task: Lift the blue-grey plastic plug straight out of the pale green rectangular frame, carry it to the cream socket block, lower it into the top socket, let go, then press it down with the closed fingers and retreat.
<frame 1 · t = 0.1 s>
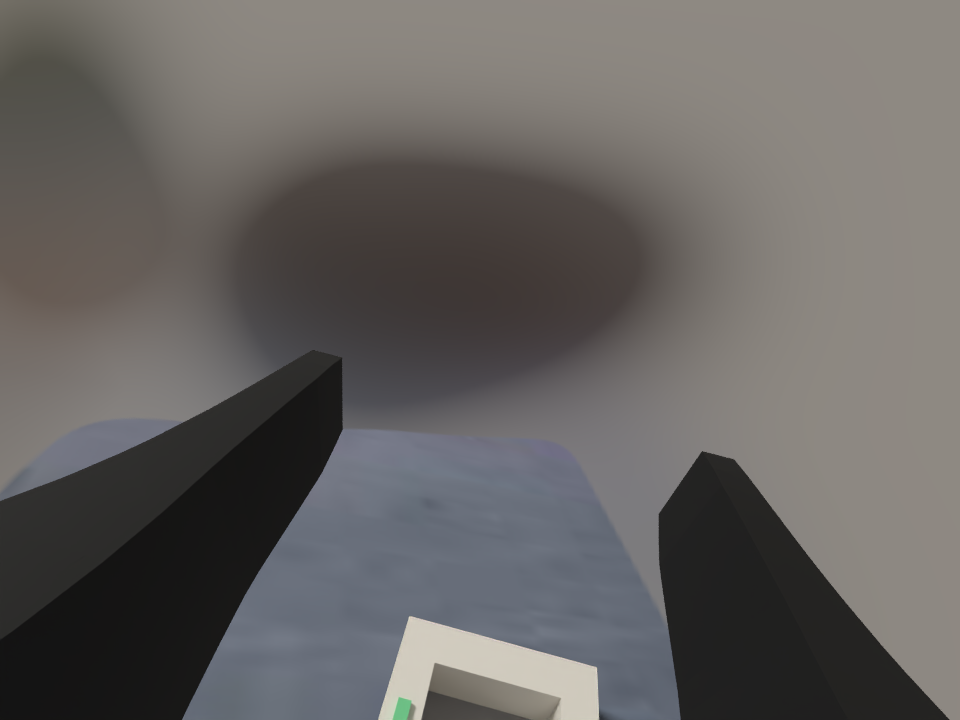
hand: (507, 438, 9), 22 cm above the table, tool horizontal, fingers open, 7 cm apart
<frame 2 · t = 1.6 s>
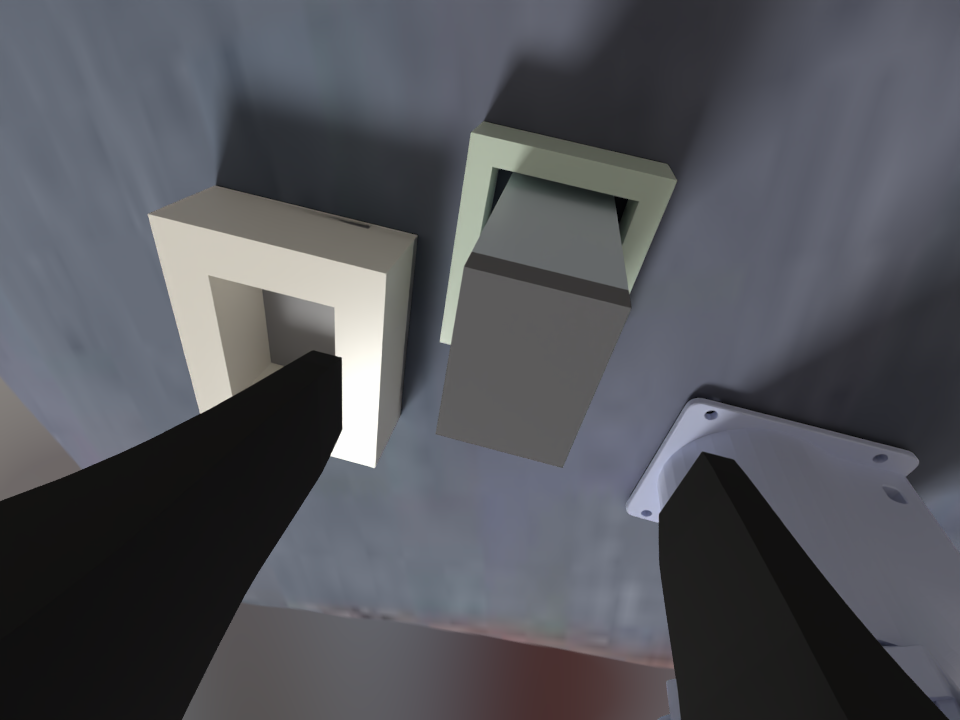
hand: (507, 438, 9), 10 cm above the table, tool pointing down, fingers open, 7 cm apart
pale green rectangular frame: (544, 250, 17), on the table
plug: (544, 250, 17), resting in pale green rectangular frame
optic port: (319, 315, 21), on the table
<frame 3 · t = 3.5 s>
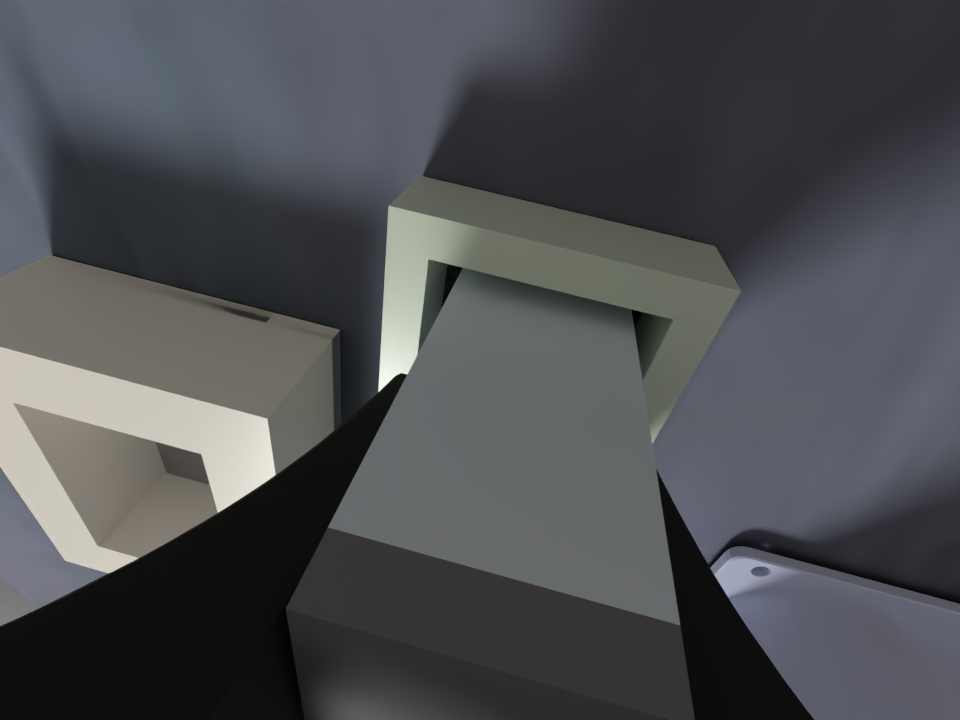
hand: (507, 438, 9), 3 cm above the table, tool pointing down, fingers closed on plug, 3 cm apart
pale green rectangular frame: (523, 357, 12), on the table
plug: (523, 356, 12), resting in pale green rectangular frame, touching gripper
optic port: (222, 420, 15), on the table
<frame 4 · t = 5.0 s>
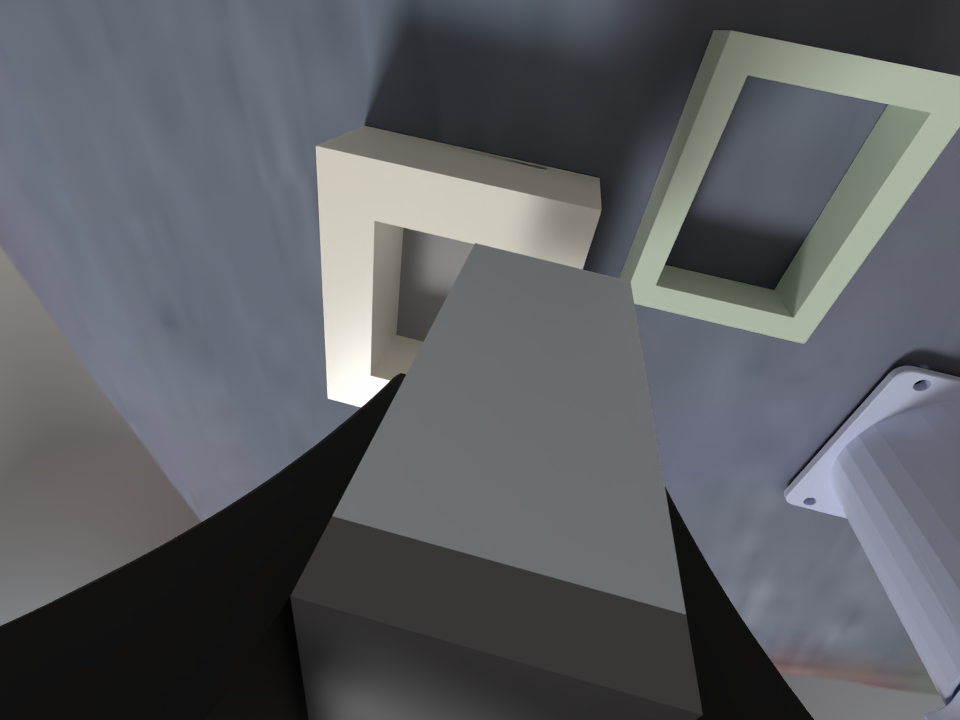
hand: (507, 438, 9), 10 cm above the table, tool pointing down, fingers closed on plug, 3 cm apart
pale green rectangular frame: (753, 192, 15), on the table
plug: (525, 352, 12), point 7 cm above the table, touching gripper
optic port: (460, 279, 19), on the table
when the fingers open (4 cm above the table, at t = 6.9 s): plug stays where it is, resting on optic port.
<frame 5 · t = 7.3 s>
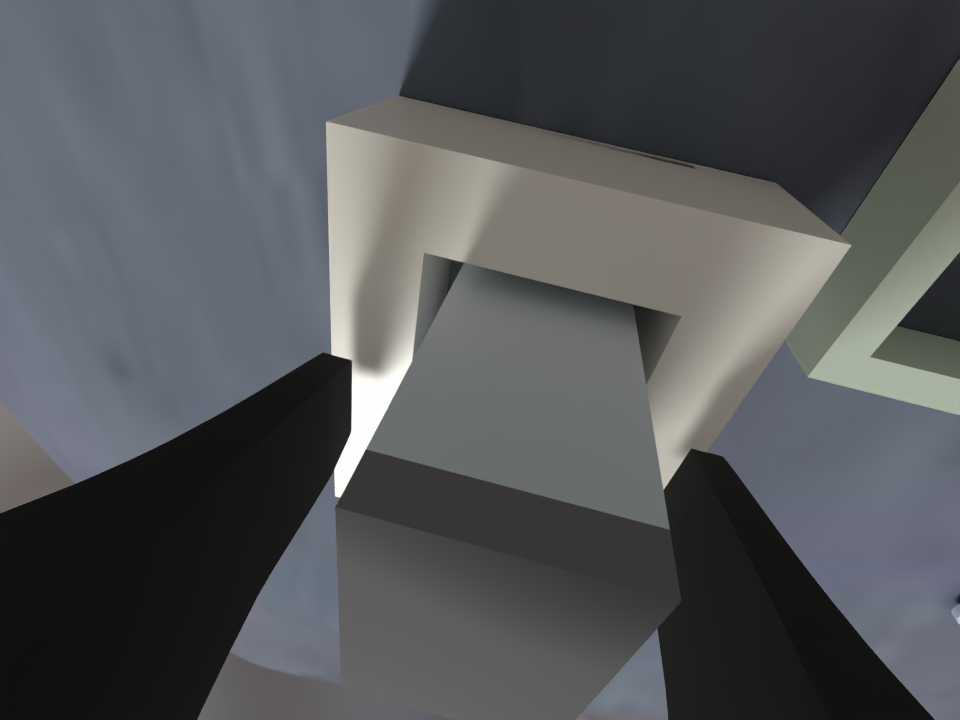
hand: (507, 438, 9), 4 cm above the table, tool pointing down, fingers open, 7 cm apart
plug: (529, 333, 12), resting on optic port
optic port: (529, 326, 13), on the table
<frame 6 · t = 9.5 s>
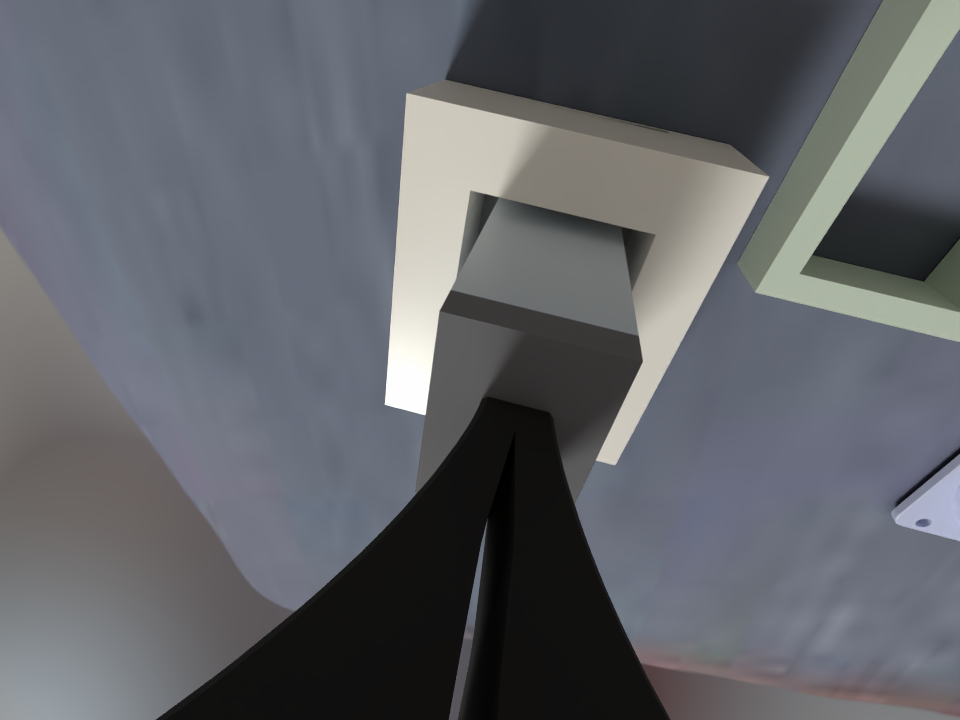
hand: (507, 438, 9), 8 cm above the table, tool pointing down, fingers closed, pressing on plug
pale green rectangular frame: (921, 162, 12), on the table
plug: (541, 270, 16), resting on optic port, touching gripper
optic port: (541, 267, 16), on the table
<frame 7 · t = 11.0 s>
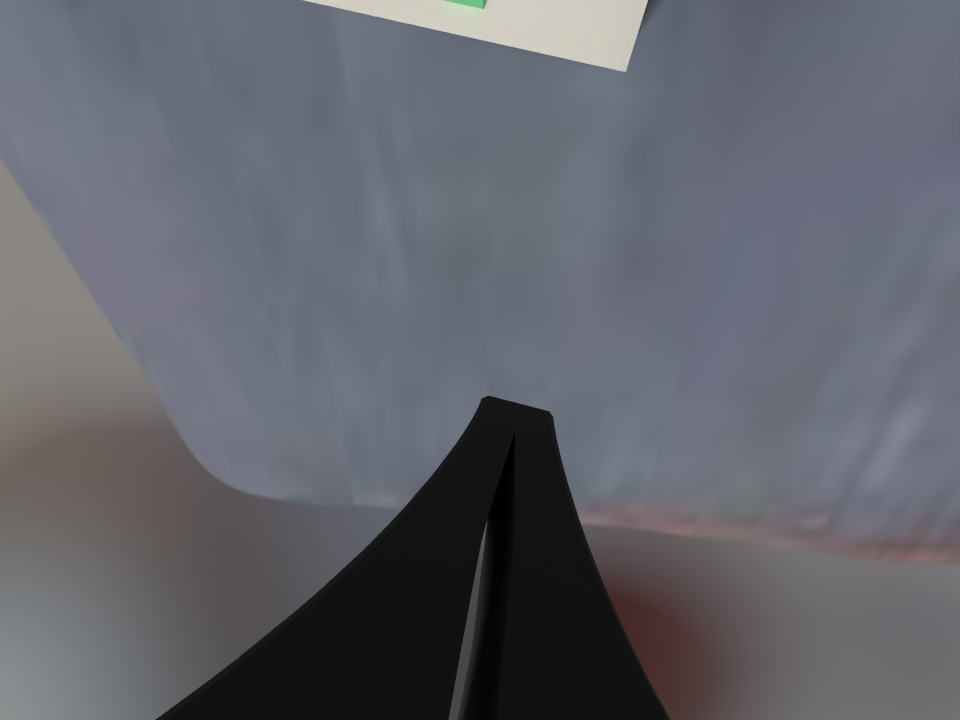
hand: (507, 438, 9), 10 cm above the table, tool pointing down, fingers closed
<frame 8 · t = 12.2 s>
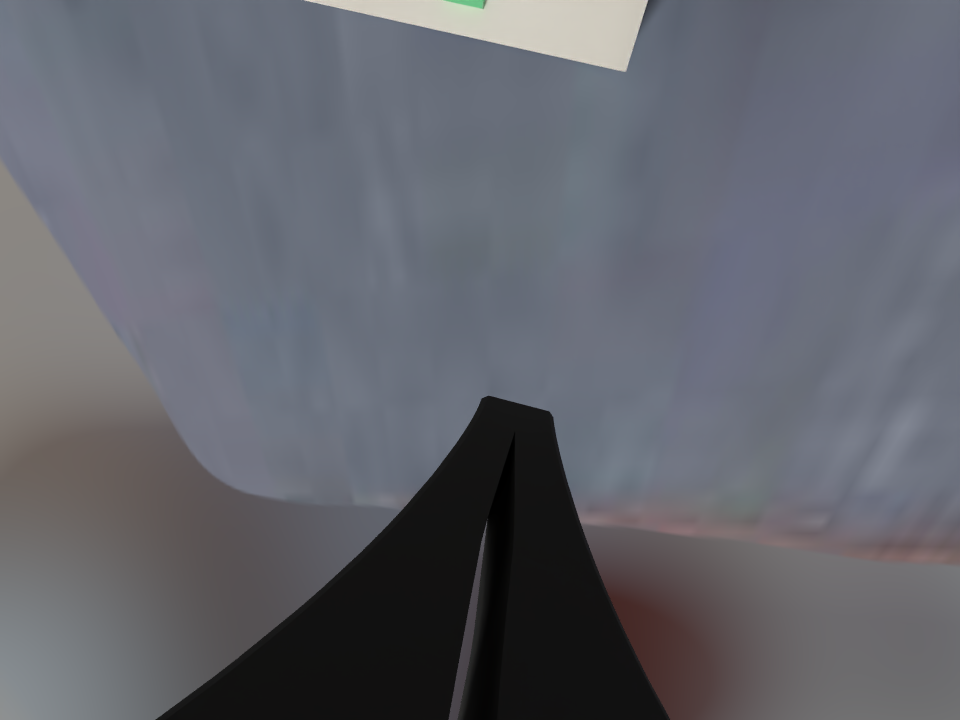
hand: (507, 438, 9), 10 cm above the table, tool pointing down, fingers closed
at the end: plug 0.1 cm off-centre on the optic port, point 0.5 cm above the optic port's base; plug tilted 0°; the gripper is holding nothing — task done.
